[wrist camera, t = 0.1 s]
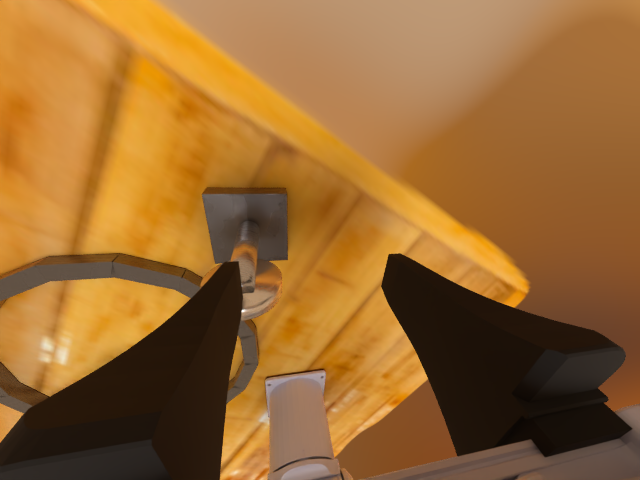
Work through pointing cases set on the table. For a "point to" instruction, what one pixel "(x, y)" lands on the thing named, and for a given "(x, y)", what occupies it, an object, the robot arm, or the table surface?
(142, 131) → the table surface
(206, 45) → the table surface
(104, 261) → the centring ring
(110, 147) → the table surface
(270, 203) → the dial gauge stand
